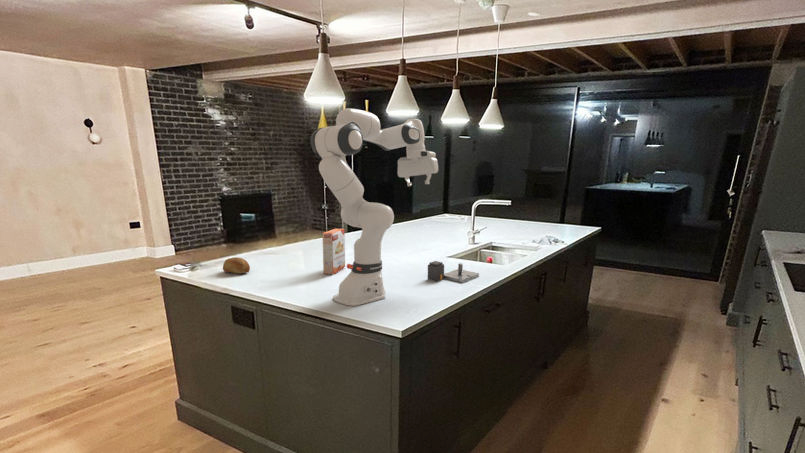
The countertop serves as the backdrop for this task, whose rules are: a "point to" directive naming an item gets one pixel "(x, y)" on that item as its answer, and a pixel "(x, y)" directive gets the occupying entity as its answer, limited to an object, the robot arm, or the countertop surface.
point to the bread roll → (236, 265)
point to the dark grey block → (436, 271)
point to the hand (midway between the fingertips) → (418, 185)
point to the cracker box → (333, 251)
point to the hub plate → (460, 275)
